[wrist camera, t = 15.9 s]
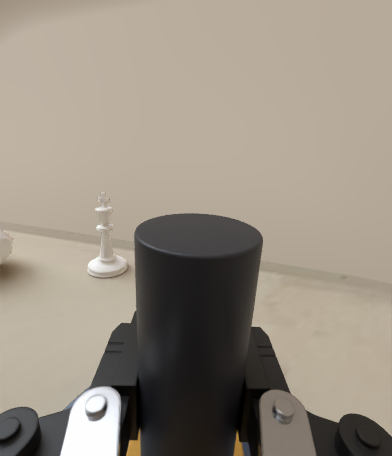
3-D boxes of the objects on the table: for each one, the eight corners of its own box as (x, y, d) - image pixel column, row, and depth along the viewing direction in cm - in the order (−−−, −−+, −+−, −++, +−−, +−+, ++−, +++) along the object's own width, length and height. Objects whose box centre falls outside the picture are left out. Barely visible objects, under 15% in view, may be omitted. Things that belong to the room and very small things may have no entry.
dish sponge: (267, 736, 7) (418, 352, 3) (87, 739, 7) (-12, 342, 3) (228, 429, 15) (256, 199, 11) (141, 427, 15) (135, 194, 10)
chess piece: (106, 281, 31) (100, 199, 28) (79, 270, 34) (70, 192, 30) (135, 266, 36) (133, 192, 32) (109, 257, 38) (104, 187, 35)
